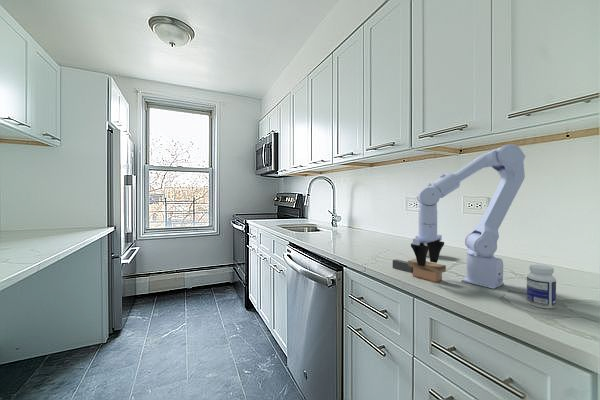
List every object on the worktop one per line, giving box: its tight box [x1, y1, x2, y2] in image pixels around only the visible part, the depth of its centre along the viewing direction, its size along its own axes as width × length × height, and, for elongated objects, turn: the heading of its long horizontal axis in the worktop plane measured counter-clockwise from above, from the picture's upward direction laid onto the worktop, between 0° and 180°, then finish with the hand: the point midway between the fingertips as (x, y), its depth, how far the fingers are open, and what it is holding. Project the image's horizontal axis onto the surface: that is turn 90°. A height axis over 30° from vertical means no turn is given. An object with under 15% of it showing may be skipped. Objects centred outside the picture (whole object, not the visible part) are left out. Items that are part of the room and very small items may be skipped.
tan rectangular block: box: [412, 268, 443, 284], centre depth 93 cm, size 8×4×3 cm, turn 36°
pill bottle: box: [526, 264, 557, 310], centre depth 71 cm, size 6×6×10 cm
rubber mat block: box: [392, 259, 413, 274], centre depth 104 cm, size 8×2×3 cm, turn 36°
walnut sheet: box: [407, 258, 447, 274], centre depth 93 cm, size 11×4×2 cm, turn 36°
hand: (427, 263), depth 93 cm, fingers open, 7 cm apart
